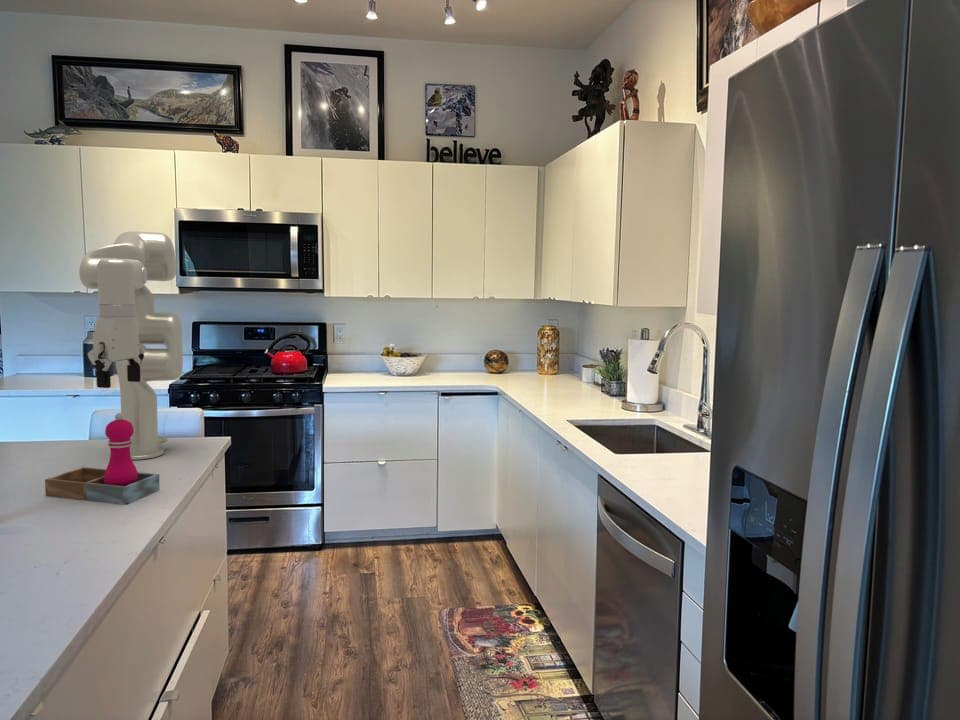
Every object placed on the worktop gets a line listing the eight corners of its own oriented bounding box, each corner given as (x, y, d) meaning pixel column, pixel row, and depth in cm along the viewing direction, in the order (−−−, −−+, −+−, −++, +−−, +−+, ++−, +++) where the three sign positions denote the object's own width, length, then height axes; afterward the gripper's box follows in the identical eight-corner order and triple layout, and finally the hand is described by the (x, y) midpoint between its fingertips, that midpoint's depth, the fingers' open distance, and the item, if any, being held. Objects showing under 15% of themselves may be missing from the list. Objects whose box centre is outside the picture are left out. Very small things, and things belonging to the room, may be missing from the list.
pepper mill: (124, 501, 156) (121, 417, 154) (97, 498, 157) (94, 415, 155) (145, 491, 163) (142, 411, 161) (119, 489, 164) (116, 409, 162)
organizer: (83, 482, 169) (82, 467, 169) (159, 490, 165) (159, 474, 164) (45, 495, 158) (44, 479, 158) (126, 504, 154) (125, 487, 153)
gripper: (129, 310, 165) (131, 378, 167) (73, 313, 148) (76, 389, 150) (156, 311, 163) (158, 380, 165) (102, 314, 146) (105, 391, 148)
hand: (119, 384), depth 158 cm, fingers open, 9 cm apart
